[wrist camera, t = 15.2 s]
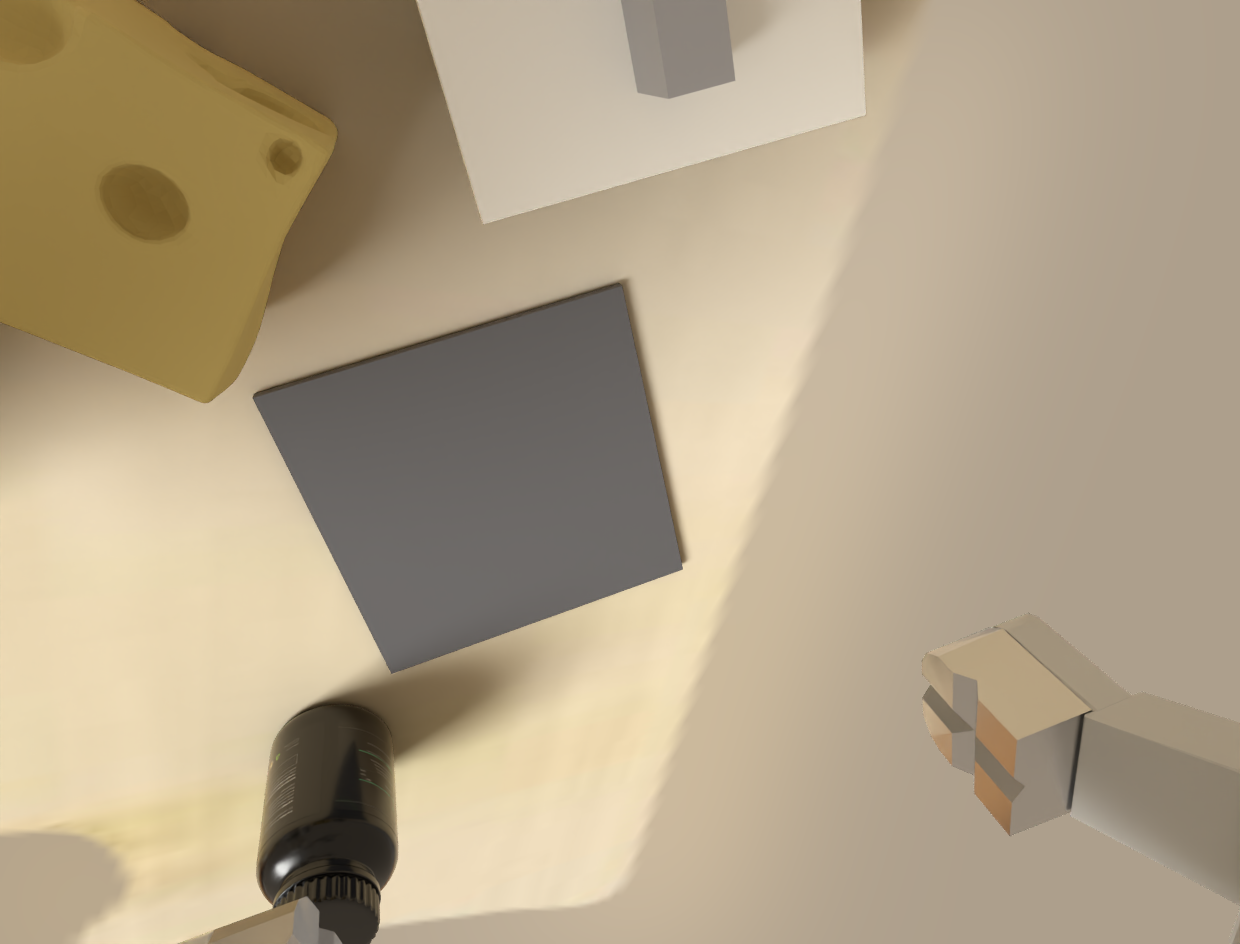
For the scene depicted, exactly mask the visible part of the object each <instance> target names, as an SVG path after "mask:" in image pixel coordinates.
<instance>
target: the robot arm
mask: <svg viewBox="0 0 1240 944" xmlns="http://www.w3.org/2000/svg"><path fill="white" fill-rule="evenodd" d="M922 675H923V676H924V677H925V678H926V680H927V681H928V682H929V683H930V684H931V685H930V686H929V688H928V689H927V691H926V693H925V694H924V696H923V697H922V703H923V716H924V719H925V721H926V724H927V727H928V730H929V732H930V735H931V737H932V738H933V740H934V742H935V744H936V745H937V747H938V749H939V750H940V752H941V753H942V754H943V755H944V756H945V758H946V759H947V760H948V762H949V763H950V764H951V765H952V766H953V767H956V768H958V769H961V770H963V771H965V772H967V773H970V774H972V775H974V794H975V795H976V796H977V797H978V798H979V800H980V801H981V802H982V803H983V805H984V806H985V807H986V808H987V809H988V811H989V812H990V813H991V814H992V816H993V817H994V818H995V819H996V820H997V822H998V823H999V824H1000V825H1001V826H1002V828H1003V829H1004V830H1005V831H1006V832H1007V834H1008V835H1009V836H1011V835H1014V834H1016V833H1019V832H1021V831H1024V830H1026V829H1029V828H1032V827H1034V826H1037V825H1039V824H1042V823H1044V822H1046V821H1049V820H1052V819H1054V818H1057V817H1059V816H1062V815H1064V814H1067V813H1069V812H1071V815H1070V816H1071V817H1073V818H1075V819H1077V820H1079V821H1081V822H1082V823H1085V824H1086V825H1088V826H1090V827H1092V828H1094V829H1096V830H1098V831H1099V832H1101V833H1103V834H1105V835H1107V836H1109V837H1111V838H1113V839H1115V840H1116V841H1119V842H1120V843H1122V844H1124V845H1126V846H1128V847H1130V848H1132V849H1133V850H1135V851H1137V852H1139V853H1141V854H1143V855H1145V856H1147V857H1149V858H1150V859H1152V860H1154V861H1156V862H1158V863H1160V864H1162V865H1164V866H1166V867H1167V868H1170V869H1171V870H1173V871H1175V872H1177V873H1179V874H1181V875H1183V876H1185V877H1186V878H1188V879H1190V880H1192V881H1194V882H1196V883H1198V884H1200V885H1202V886H1203V887H1205V888H1207V889H1209V890H1211V891H1213V892H1215V893H1217V894H1219V895H1221V896H1222V897H1224V898H1226V899H1228V900H1230V901H1232V902H1234V903H1236V904H1238V905H1240V723H1239V722H1236V721H1233V720H1230V719H1227V718H1223V717H1220V716H1217V715H1214V714H1211V713H1208V712H1204V711H1202V710H1198V709H1195V708H1192V707H1189V706H1186V705H1183V704H1180V703H1176V702H1173V701H1170V700H1167V699H1164V698H1161V697H1158V696H1155V695H1152V694H1148V693H1146V692H1139V693H1137V694H1134V695H1131V694H1130V693H1129V692H1127V691H1126V690H1125V689H1124V688H1123V687H1121V686H1120V685H1119V684H1118V683H1117V682H1116V681H1114V680H1113V679H1112V678H1111V677H1110V676H1108V675H1107V674H1106V673H1105V672H1104V671H1102V670H1101V669H1100V668H1099V667H1098V666H1096V665H1095V664H1094V663H1093V662H1091V661H1090V660H1089V659H1088V658H1087V657H1086V656H1084V655H1083V654H1082V653H1081V652H1080V651H1078V650H1077V649H1076V648H1075V647H1074V646H1072V645H1071V644H1070V643H1069V642H1068V641H1067V640H1065V639H1064V638H1063V637H1061V635H1059V634H1058V633H1057V632H1056V631H1055V630H1054V629H1052V628H1051V627H1050V626H1049V625H1047V624H1046V623H1045V622H1044V621H1043V620H1041V619H1040V618H1039V617H1037V616H1035V615H1032V614H1030V613H1027V614H1024V615H1021V616H1019V617H1016V618H1014V619H1011V620H1009V621H1006V622H1004V623H1001V624H999V625H996V626H994V627H992V628H991V627H988V628H986V629H984V630H981V631H979V632H976V633H974V634H971V635H969V636H967V637H964V638H961V639H959V640H957V641H954V642H952V643H950V644H947V645H945V646H942V647H939V648H937V649H934V650H932V651H930V652H927V653H926V654H925V656H924V658H923V659H922ZM178 944H342V942H341V941H340V939H339V938H338V936H337V935H336V934H335V932H333V931H329V930H325V929H322V928H319V910H318V909H317V908H316V907H315V905H314V904H313V903H312V902H311V900H310V899H309V898H308V897H307V896H306V897H304V898H301V899H298V900H295V901H293V902H290V903H287V904H284V905H281V906H279V907H276V908H273V909H270V910H268V911H265V912H262V913H259V914H256V915H254V916H251V917H248V918H245V919H243V920H240V921H237V922H234V923H232V924H229V925H226V926H223V927H220V928H218V929H215V930H212V931H210V932H207V933H204V934H202V935H199V936H196V937H194V938H191V939H189V940H186V941H183V942H181V943H178ZM1229 944H1240V909H1239V912H1238V915H1237V918H1236V920H1235V923H1234V926H1233V929H1232V932H1231V935H1230V937H1229Z"/></svg>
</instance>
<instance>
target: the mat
mask: <svg viewBox="0 0 1240 944" xmlns="http://www.w3.org/2000/svg"><path fill="white" fill-rule="evenodd" d="M253 399H254V401H255V403H256V405H257V407H258V409H259V411H260V413H261V415H262V417H263V419H264V421H265V423H266V425H267V427H268V429H269V431H270V433H271V435H272V437H273V439H274V441H275V443H276V445H277V447H278V449H279V451H280V453H281V455H282V457H283V459H284V461H285V463H286V465H287V467H288V469H289V471H290V473H291V475H292V477H293V479H294V481H295V483H296V485H297V487H298V489H299V491H300V493H301V495H302V497H303V499H304V501H305V503H306V505H307V507H308V509H309V511H310V513H311V515H312V517H313V519H314V521H315V523H316V525H317V527H318V529H319V531H320V533H321V535H322V537H323V538H324V540H325V542H326V544H327V546H328V548H329V550H330V552H331V554H332V556H333V558H334V560H335V562H336V564H337V566H338V568H339V570H340V572H341V574H342V576H343V578H344V580H345V582H346V584H347V586H348V588H349V590H350V592H351V594H352V596H353V598H354V600H355V602H356V604H357V606H358V608H359V610H360V612H361V614H362V616H363V618H364V620H365V622H366V624H367V626H368V628H369V630H370V632H371V634H372V636H373V638H374V640H375V642H376V644H377V646H378V648H379V650H380V652H381V654H382V656H383V658H384V660H385V662H386V664H387V666H388V668H389V670H390V672H391V674H393V673H395V672H398V671H401V670H404V669H407V668H409V667H412V666H415V665H418V664H420V663H423V662H426V661H429V660H432V659H434V658H437V657H440V656H443V655H446V654H448V653H451V652H454V651H457V650H459V649H462V648H465V647H468V646H471V645H473V644H476V643H479V642H482V641H485V640H487V639H490V638H493V637H496V636H499V635H501V634H504V633H507V632H510V631H512V630H515V629H518V628H521V627H524V626H526V625H529V624H532V623H535V622H538V621H540V620H543V619H546V618H549V617H551V616H554V615H557V614H560V613H563V612H565V611H568V610H571V609H574V608H577V607H579V606H582V605H585V604H588V603H590V602H593V601H596V600H599V599H602V598H604V597H607V596H610V595H613V594H616V593H618V592H621V591H624V590H627V589H630V588H632V587H635V586H638V585H641V584H643V583H646V582H649V581H652V580H655V579H657V578H660V577H663V576H666V575H669V574H671V573H674V572H677V571H680V570H682V569H683V567H682V563H681V558H680V553H679V549H678V544H677V539H676V535H675V530H674V525H673V521H672V516H671V511H670V507H669V502H668V497H667V493H666V488H665V483H664V479H663V474H662V470H661V465H660V460H659V456H658V451H657V446H656V442H655V437H654V432H653V428H652V423H651V418H650V414H649V409H648V404H647V400H646V395H645V390H644V386H643V381H642V376H641V372H640V367H639V362H638V358H637V353H636V348H635V344H634V339H633V334H632V330H631V325H630V320H629V316H628V311H627V307H626V302H625V297H624V293H623V288H622V285H621V284H615V285H612V286H609V287H605V288H602V289H599V290H595V291H592V292H589V293H586V294H582V295H579V296H576V297H572V298H569V299H566V300H562V301H559V302H556V303H553V304H549V305H546V306H543V307H539V308H536V309H533V310H529V311H526V312H523V313H520V314H516V315H513V316H510V317H506V318H503V319H500V320H496V321H493V322H490V323H487V324H483V325H480V326H477V327H473V328H470V329H467V330H464V331H460V332H457V333H454V334H450V335H447V336H444V337H440V338H437V339H434V340H431V341H427V342H424V343H421V344H417V345H414V346H411V347H407V348H404V349H401V350H398V351H394V352H391V353H388V354H384V355H381V356H378V357H374V358H371V359H368V360H365V361H361V362H358V363H355V364H351V365H348V366H345V367H341V368H338V369H335V370H332V371H328V372H325V373H322V374H318V375H315V376H312V377H309V378H305V379H302V380H299V381H295V382H292V383H289V384H285V385H282V386H279V387H276V388H272V389H269V390H266V391H262V392H259V393H256V394H254V396H253Z"/></svg>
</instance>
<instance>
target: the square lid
mask: <svg viewBox="0 0 1240 944" xmlns="http://www.w3.org/2000/svg"><path fill="white" fill-rule="evenodd" d="M416 3H417V6H418V10H419V13H420V16H421V20H422V23H423V26H424V30H425V33H426V36H427V40H428V43H429V47H430V50H431V53H432V57H433V60H434V63H435V67H436V70H437V74H438V77H439V80H440V84H441V87H442V90H443V94H444V97H445V100H446V104H447V107H448V111H449V114H450V117H451V121H452V124H453V127H454V131H455V134H456V137H457V141H458V144H459V148H460V151H461V154H462V158H463V161H464V164H465V168H466V171H467V175H468V178H469V181H470V185H471V188H472V191H473V195H474V198H475V201H476V205H477V208H478V212H479V215H480V218H481V221H482V223H483V224H487V223H490V222H494V221H497V220H501V219H504V218H508V217H511V216H515V215H518V214H522V213H525V212H529V211H532V210H536V209H539V208H543V207H546V206H550V205H553V204H557V203H560V202H564V201H567V200H571V199H574V198H578V197H581V196H585V195H588V194H592V193H595V192H599V191H602V190H606V189H609V188H613V187H616V186H620V185H623V184H627V183H630V182H634V181H637V180H641V179H644V178H648V177H651V176H655V175H658V174H662V173H665V172H669V171H672V170H676V169H679V168H683V167H686V166H690V165H693V164H697V163H700V162H704V161H707V160H711V159H714V158H718V157H721V156H725V155H728V154H732V153H735V152H739V151H742V150H746V149H749V148H753V147H756V146H760V145H763V144H767V143H770V142H774V141H777V140H781V139H784V138H788V137H791V136H795V135H798V134H802V133H805V132H809V131H812V130H816V129H819V128H823V127H826V126H830V125H833V124H837V123H840V122H844V121H847V120H851V119H854V118H858V117H861V116H865V115H866V104H865V81H864V59H863V36H862V14H861V0H416Z"/></svg>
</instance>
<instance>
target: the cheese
mask: <svg viewBox="0 0 1240 944" xmlns="http://www.w3.org/2000/svg"><path fill="white" fill-rule="evenodd" d="M337 137H338V132H337V129H336V127H335V125H334V123H333V122H332V121H331V120H330V119H329V118H327V117H325V116H324V115H322V114H320V113H319V112H317V111H315V110H313V109H312V108H310V107H308V106H307V105H305V104H303V103H302V102H300V101H298V100H296V99H295V98H293V97H291V96H290V95H288V94H286V93H284V92H283V91H281V90H279V89H278V88H276V87H274V86H272V85H271V84H269V83H267V82H266V81H264V80H262V79H260V78H259V77H257V76H255V75H254V74H252V73H250V72H248V71H246V70H245V69H243V68H241V67H239V66H237V65H235V64H233V63H231V62H229V61H227V60H225V59H223V58H221V57H219V56H217V55H215V54H213V53H211V52H209V51H208V50H206V49H204V48H202V47H201V46H199V45H198V44H196V43H195V42H193V41H192V40H190V39H189V38H187V37H186V36H184V35H183V34H181V33H180V32H179V31H177V30H176V29H174V28H173V27H172V26H171V25H170V24H169V23H168V22H167V21H165V20H164V19H163V18H161V17H160V16H158V15H157V14H155V13H153V12H152V11H151V10H149V9H147V8H146V7H144V6H143V5H141V4H140V3H138V2H137V1H135V0H0V322H1V323H4V324H6V325H9V326H12V327H14V328H17V329H19V330H22V331H25V332H27V333H30V334H32V335H35V336H37V337H40V338H42V339H45V340H48V341H50V342H53V343H55V344H58V345H60V346H63V347H65V348H68V349H70V350H73V351H76V352H78V353H81V354H83V355H86V356H88V357H91V358H93V359H96V360H98V361H101V362H104V363H106V364H109V365H111V366H114V367H116V368H119V369H122V370H124V371H127V372H129V373H132V374H134V375H136V376H139V377H141V378H144V379H146V380H149V381H151V382H153V383H156V384H158V385H161V386H163V387H166V388H168V389H171V390H173V391H175V392H178V393H180V394H182V395H185V396H187V397H189V398H192V399H194V400H196V401H199V402H202V403H208V402H210V401H212V400H213V399H214V398H215V397H216V396H218V395H219V394H220V393H222V392H223V391H224V390H226V389H227V388H228V387H229V386H230V385H231V384H232V383H233V382H234V381H235V380H236V378H237V377H238V375H239V374H240V372H241V370H242V368H243V366H244V364H245V362H246V360H247V358H248V356H249V354H250V352H251V350H252V347H253V345H254V343H255V340H256V337H257V335H258V332H259V329H260V325H261V322H262V318H263V315H264V311H265V308H266V304H267V300H268V296H269V292H270V287H271V283H272V279H273V275H274V272H275V269H276V265H277V262H278V258H279V255H280V252H281V248H282V245H283V242H284V239H285V237H286V235H287V233H288V231H289V229H290V227H291V226H292V224H293V222H294V220H295V218H296V216H297V215H298V213H299V211H300V209H301V207H302V206H303V204H304V202H305V200H306V199H307V197H308V195H309V193H310V192H311V190H312V188H313V186H314V185H315V183H316V181H317V179H318V178H319V176H320V174H321V172H322V171H323V169H324V167H325V165H326V164H327V162H328V160H329V158H330V157H331V155H332V153H333V151H334V147H335V142H336V139H337Z"/></svg>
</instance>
